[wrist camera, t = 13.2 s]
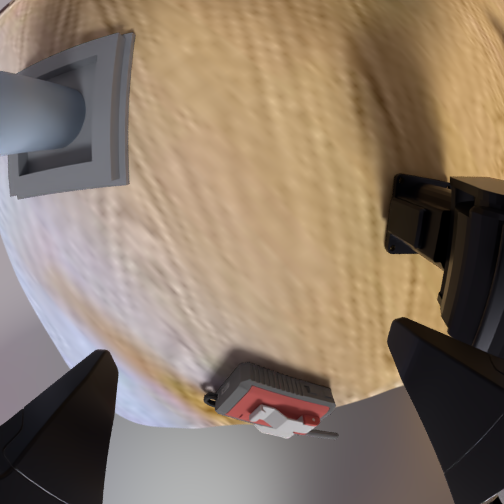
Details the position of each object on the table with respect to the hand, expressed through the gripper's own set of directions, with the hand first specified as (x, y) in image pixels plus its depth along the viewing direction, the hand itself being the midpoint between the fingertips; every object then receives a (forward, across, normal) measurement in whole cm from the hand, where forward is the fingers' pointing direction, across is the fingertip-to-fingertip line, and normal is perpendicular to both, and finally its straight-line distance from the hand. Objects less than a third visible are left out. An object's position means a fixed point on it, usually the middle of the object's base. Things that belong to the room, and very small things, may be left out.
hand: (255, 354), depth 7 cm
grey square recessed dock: (+14, +13, -10) cm, 22 cm away
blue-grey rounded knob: (+13, +13, -10) cm, 21 cm away
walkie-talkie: (+13, -5, +21) cm, 25 cm away
